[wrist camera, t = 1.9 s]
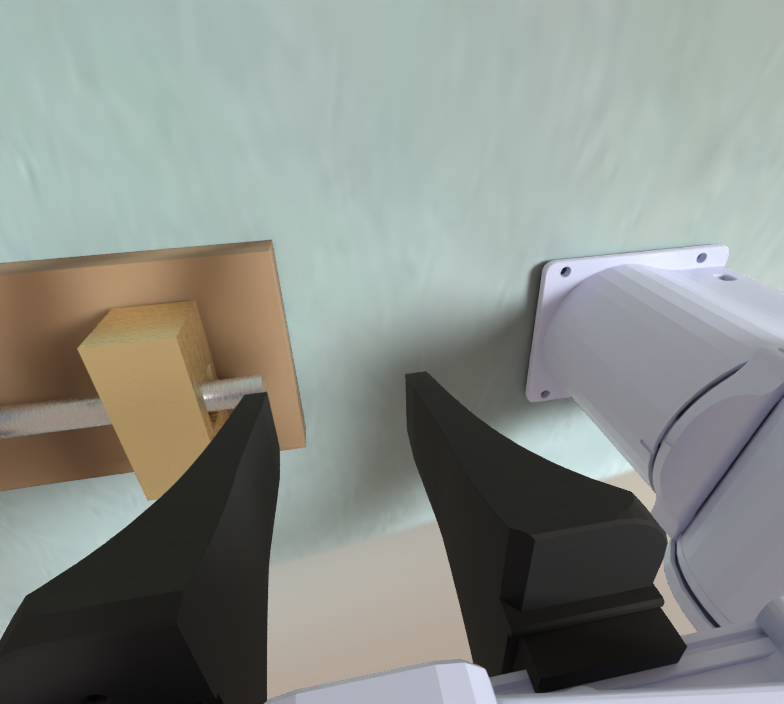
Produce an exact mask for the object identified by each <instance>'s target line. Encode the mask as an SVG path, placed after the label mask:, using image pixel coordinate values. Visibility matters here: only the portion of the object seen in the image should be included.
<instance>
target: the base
mask: <svg viewBox="0 0 784 704" xmlns="http://www.w3.org/2000/svg"><path fill="white" fill-rule="evenodd" d="M186 301H196V304H197V308H198V311H199V315H200V318H201V322H202V325H203V328H204V332H205V335H206V339H207V342H208V346H209V349H210V353H211V356H212V360H213V363H214V366H215V370H216V373H217V377H218V380H213V381H205V382H202V385H201V392H202V395H203V398H204V401H205V404H206V407H207V411H208V412H210V411H218V410H225V409H227V411H228V415H229V416H230V415H231V413H232V412H233V410H234V409H235V407H236V406H237V404H238V403H239V401H240V400H241V399H242V397H243V396H244V395H245V394H253V393H261V392H267V393H268V397H269V402H270V406H271V411H272V415H273V419H274V424H275V428H276V433H277V437H278V442H279V446H280V451H282V450H289V449H296V448H303V447H306V427H305V422H304V416H303V411H302V405H301V399H300V394H299V388H298V383H297V377H296V372H295V366H294V361H293V355H292V349H291V344H290V338H289V333H288V327H287V322H286V316H285V311H284V305H283V299H282V294H281V288H280V283H279V277H278V272H277V266H276V261H275V255H274V250H273V244H272V240H265V241H253V242H242V243H230V244H219V245H207V246H196V247H184V248H173V249H161V250H149V251H138V252H126V253H115V254H103V255H92V256H80V257H69V258H57V259H45V260H34V261H22V262H11V263H0V491H4V490H11V489H18V488H25V487H32V486H39V485H45V484H52V483H59V482H66V481H73V480H80V479H87V478H94V477H101V476H108V475H115V474H122V473H129V472H134V470H133V468H132V466H131V463H130V461H129V459H128V457H127V455H126V453H125V450H124V448H123V446H122V444H121V442H120V440H119V438H118V435H117V433H116V431H115V429H114V427H113V425H112V423H111V420H110V418H109V416H108V414H107V412H106V410H105V407H104V405H103V403H102V401H101V399H100V397H99V395H98V392H97V390H96V388H95V386H94V384H93V382H92V379H91V377H90V375H89V373H88V371H87V369H86V367H85V364H84V362H83V360H82V358H81V356H80V354H79V351H78V349H77V348H78V347H79V346H80V345H81V343H82V342H83V341H84V340H85V339H86V338H87V337H88V336H89V334H90V333H91V332H92V331H93V330H94V329H95V328H96V326H97V325H98V324H99V323H100V322H101V321H102V320H103V319H104V317H105V316H106V315H107V314H108V313H109V312H110V311H111V309H116V308H126V307H136V306H146V305H156V304H166V303H176V302H186Z"/></svg>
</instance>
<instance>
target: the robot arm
mask: <svg viewBox="0 0 784 704" xmlns="http://www.w3.org/2000/svg"><path fill="white" fill-rule="evenodd" d="M699 255H700V257H699V258H698V259H697V257H698V256H699ZM728 255H729V249H728V247H727V246H724V245H722V244H712V245H702V246H692V247H682V248H672V249H662V250H652V251H642V252H632V253H622V254H612V255H602V256H592V257H582V258H572V259H562V260H553V261H550V262H548V263H547V264H546V265H545V266H544V267H543V270H542V276H541V283H540V290H539V298H538V305H537V312H536V319H535V326H534V334H533V341H532V348H531V355H530V362H529V370H528V377H527V384H526V391H525V396H526V397H527V398H528V400H529V401H530V402H541V401H548V400H555V399H563V398H570V397H572V398H573V399H574V400H575V401H576V403H577V404H578V405H579V406H580V407H581V408H582V410H583V411H584V412H585V413H586V414H587V415H588V416H589V418H590V419H591V420H592V421H593V422H594V423H595V424H596V426H597V427H598V428H599V429H600V430H601V431H602V432H603V434H604V435H605V436H606V437H607V438H608V439H609V441H610V442H611V443H612V444H613V445H614V446H615V447H616V449H617V450H618V451H619V452H620V453H621V454H622V455H623V457H624V458H625V459H626V460H627V461H628V462H629V464H630V465H631V466H632V467H633V468H634V469H635V470H636V472H637V473H638V474H639V475H640V476H641V477H642V478H643V480H644V481H645V482H646V483H647V484H648V485H649V486H650V488H651V489H652V490H653V491H654V492H655V493H656V502H655V505H654V507H653V509H652V511H651V513H650V512H649V511H648V510H647V508H646V507H645V506H644V505H643V504H642V503H641V502H640V500H639V499H638V498H637V497H636V496H635V495H634V494H633V493H632V492H630V491H627V490H624V489H621V488H618V487H615V486H612V485H609V484H606V483H603V482H600V481H597V480H594V479H591V478H589V477H586V476H584V475H581V474H579V473H576V472H574V471H571V470H569V469H566V468H564V467H562V466H560V465H557V464H555V463H553V462H551V461H549V460H547V459H545V458H543V457H541V456H539V455H537V454H535V453H533V452H531V451H529V450H527V449H525V448H523V447H522V446H520V445H518V444H516V443H515V442H513V441H512V440H510V439H508V438H507V437H505V436H503V435H502V434H500V433H499V432H497V431H496V430H494V429H493V428H491V427H490V426H488V425H487V424H486V423H484V422H483V421H482V420H480V419H479V418H478V417H476V416H475V415H474V414H473V413H471V412H470V411H469V410H468V409H467V408H466V407H464V406H463V405H462V404H461V403H460V402H458V401H457V400H456V399H455V398H454V397H453V396H452V395H451V394H450V393H448V392H447V391H446V390H445V389H444V388H443V387H442V386H441V385H440V384H439V383H438V382H437V381H436V380H435V379H434V378H433V377H432V376H431V375H430V374H428V373H427V372H418V373H410V374H405V378H406V412H407V431H408V435H409V440H410V444H411V448H412V452H413V457H414V460H415V463H416V466H417V468H418V471H419V474H420V476H421V479H422V482H423V485H424V487H425V490H426V493H427V495H428V498H429V501H430V503H431V506H432V509H433V511H434V514H435V517H436V519H437V522H438V525H439V528H440V531H441V534H442V537H443V541H444V545H445V549H446V552H447V556H448V560H449V563H450V568H451V571H452V576H453V580H454V584H455V588H456V591H457V595H458V599H459V603H460V608H461V612H462V616H463V621H464V624H465V629H466V633H467V638H468V642H469V646H470V650H471V655H472V659H473V663H470V662H467V661H464V660H461V659H457V660H442V661H432V662H427V663H422V664H417V665H413V666H408V667H403V668H398V669H393V670H389V671H384V672H379V673H374V674H369V675H365V676H360V677H356V678H350V679H346V680H341V681H336V682H331V683H326V684H322V685H317V686H313V687H308V688H303V689H298V690H295V691H292V692H289V693H286V694H283V695H280V696H277V697H274V698H272V699H269V700H268V701H267V611H268V575H269V559H270V549H271V542H272V534H273V527H274V519H275V512H276V504H277V496H278V488H279V480H280V446H279V442H278V437H277V433H276V428H275V424H274V419H273V415H272V411H271V406H270V402H269V397H268V393H267V392H261V393H253V394H245V395H244V396H243V397H242V399H241V400H240V401H239V403H238V404H237V406H236V407H235V409H234V410H233V412H232V413H231V415H230V416H229V418H228V419H227V420H226V422H225V423H224V425H223V426H222V427H221V429H220V430H219V431H218V433H217V434H216V435H215V437H214V438H213V439H212V441H211V442H210V443H209V445H208V446H207V447H206V448H205V450H204V451H203V452H202V453H201V454H200V456H199V457H198V458H197V459H196V460H195V462H194V463H193V464H192V465H191V466H190V467H189V469H188V470H187V471H186V472H185V473H184V474H183V475H182V476H181V477H180V478H179V480H178V481H177V482H176V483H175V484H174V485H173V486H172V487H171V488H170V489H169V490H168V491H167V492H165V493H164V494H163V495H162V496H161V497H160V498H159V499H158V500H157V501H156V502H155V503H154V504H152V505H151V506H150V507H149V508H148V509H147V510H145V511H144V512H143V513H142V514H141V515H140V516H138V517H137V518H136V519H135V520H134V521H133V522H131V523H130V524H129V525H128V526H127V527H125V528H124V529H123V530H122V531H120V532H119V533H118V534H116V535H115V536H114V537H113V538H111V539H110V540H109V541H107V542H106V543H105V544H103V545H102V546H101V547H99V548H98V549H96V550H95V551H94V552H92V553H91V554H90V555H88V556H87V557H85V558H84V559H82V560H81V561H80V562H78V563H77V564H75V565H74V566H72V567H71V568H69V569H67V570H66V571H64V572H63V573H61V574H60V575H58V576H57V577H55V578H54V579H52V580H50V581H49V582H47V583H46V584H44V585H43V586H41V587H40V588H38V589H37V590H35V591H33V592H32V593H30V594H28V595H27V596H26V597H25V598H24V600H23V601H22V603H21V605H20V606H19V608H18V610H17V611H16V613H15V614H14V616H13V618H12V619H11V621H10V623H9V625H8V627H7V629H6V630H5V632H4V634H3V636H2V638H1V640H0V704H784V292H783V291H781V290H779V289H776V288H774V287H771V286H769V285H767V284H764V283H762V282H760V281H757V280H755V279H752V278H750V277H748V276H745V275H743V274H741V273H738V272H736V271H733V270H731V269H729V268H726V267H724V266H725V264H726V261H727V258H728ZM564 267H567V270H566V272H565V273H564V274H560V272H561V270H562V269H563V268H564ZM545 390H546V392H545V393H543V394H541V393H542V392H543V391H545ZM658 523H659V524H660V525H659V524H658ZM662 528H663V529H664V530H663V529H662ZM666 533H667V534H668V535H669V537H670V538H671V540H670V541H669V543H668V542H667V537H666ZM667 543H668V544H667ZM662 560H663V561H664V562H663V563H664V572H665V575H666V579H667V582H668V585H669V587H670V589H671V591H672V593H673V596H674V598H675V599H676V601H677V603H678V604H679V606H680V608H681V609H682V611H683V613H684V614H685V616H686V617H687V618H688V620H689V621H690V622H691V624H692V625H693V626H694V628H695V629H696V630H697V633H692V634H687V635H683V636H680V635H679V634H678V632H677V631H676V629H675V628H674V626H673V625H672V623H671V622H670V620H669V619H668V617H667V616H666V615H665V613H664V612H663V610H662V609H661V607H662V606H663V605H664V599H663V597H662V595H661V594H660V593H659V591H658V590H657V588H656V587H655V586H654V584H653V581H654V579H655V577H656V574H657V572H658V570H659V568H660V565H661V563H662Z"/></svg>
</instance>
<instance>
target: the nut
mask: <svg viewBox="0 0 784 704" xmlns="http://www.w3.org/2000/svg"><path fill="white" fill-rule="evenodd" d="M77 349H78V351H79V354H80V356H81V358H82V360H83V362H84V364H85V367H86V369H87V371H88V373H89V375H90V377H91V379H92V382H93V384H94V386H95V388H96V390H97V392H98V395H99V397H100V399H101V401H102V403H103V405H104V407H105V410H106V412H107V414H108V416H109V418H110V420H111V423H112V425H113V427H114V429H115V431H116V433H117V435H118V438H119V440H120V442H121V444H122V446H123V448H124V450H125V453H126V455H127V457H128V459H129V461H130V463H131V466H132V468H133V470H134V472H135V474H136V476H137V478H138V481H139V483H140V485H141V487H142V489H143V491H144V494H145V496H146V498H147V500H148V501H149V500H156V499H159V498H160V497H161V496H162V495H163V494H164V493H165V492H167V491H168V490H169V489H170V488H171V487H172V486H173V485H174V484H175V483H176V482H177V481H178V480H179V478H180V477H181V476H182V475H183V474H184V473H185V472H186V471H187V470H188V469H189V467H190V466H191V465H192V464H193V463H194V462H195V460H196V459H197V458H198V457H199V456H200V454H201V453H202V452H203V451H204V450H205V448H206V447H207V446H208V445H209V443H210V442H211V441H212V439H213V438H214V437H215V435H216V434H217V433H218V431H219V430H220V429H221V427H222V426H223V425H224V423H225V422H226V420H227V419H228V418H229V415H228V411H227V409H225V410H218V411H210V412H208V411H207V407H206V404H205V401H204V398H203V395H202V392H201V385H202V382H205V381H213V380H218V377H217V373H216V370H215V366H214V363H213V360H212V356H211V353H210V349H209V346H208V342H207V339H206V335H205V332H204V328H203V325H202V322H201V318H200V315H199V311H198V308H197V304H196V301H186V302H176V303H166V304H156V305H146V306H136V307H126V308H116V309H111V311H110V312H109V313H108V314H107V315H106V316H105V317H104V319H103V320H102V321H101V322H100V323H99V324H98V325H97V326H96V328H95V329H94V330H93V331H92V332H91V333H90V334H89V336H88V337H87V338H86V339H85V340H84V341H83V342H82V343H81V345H80V346H79V347H78V348H77Z"/></svg>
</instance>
